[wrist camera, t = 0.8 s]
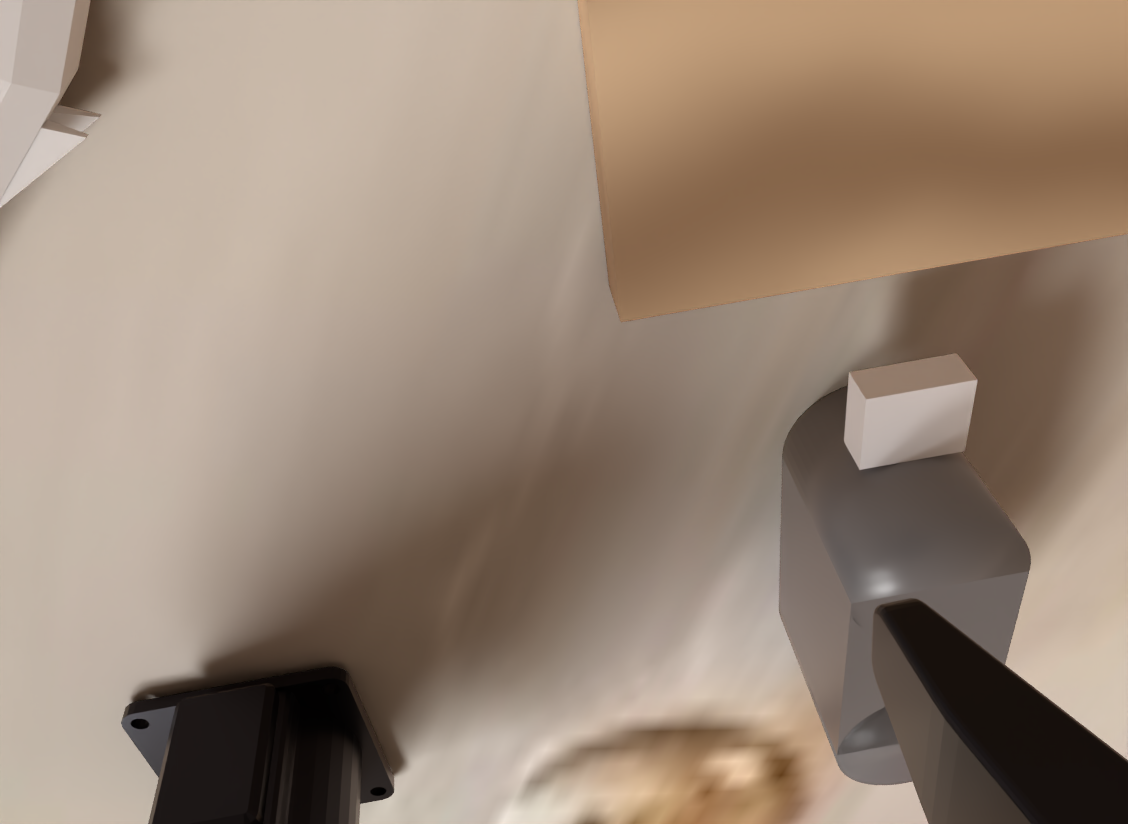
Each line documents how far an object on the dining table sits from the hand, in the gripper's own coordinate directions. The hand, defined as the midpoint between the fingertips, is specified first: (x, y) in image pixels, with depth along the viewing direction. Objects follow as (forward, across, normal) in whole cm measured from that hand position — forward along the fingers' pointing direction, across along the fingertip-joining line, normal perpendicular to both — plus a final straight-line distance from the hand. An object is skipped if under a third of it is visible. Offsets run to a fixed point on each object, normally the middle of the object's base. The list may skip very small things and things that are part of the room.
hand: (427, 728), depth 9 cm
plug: (+13, -9, +12) cm, 20 cm away
